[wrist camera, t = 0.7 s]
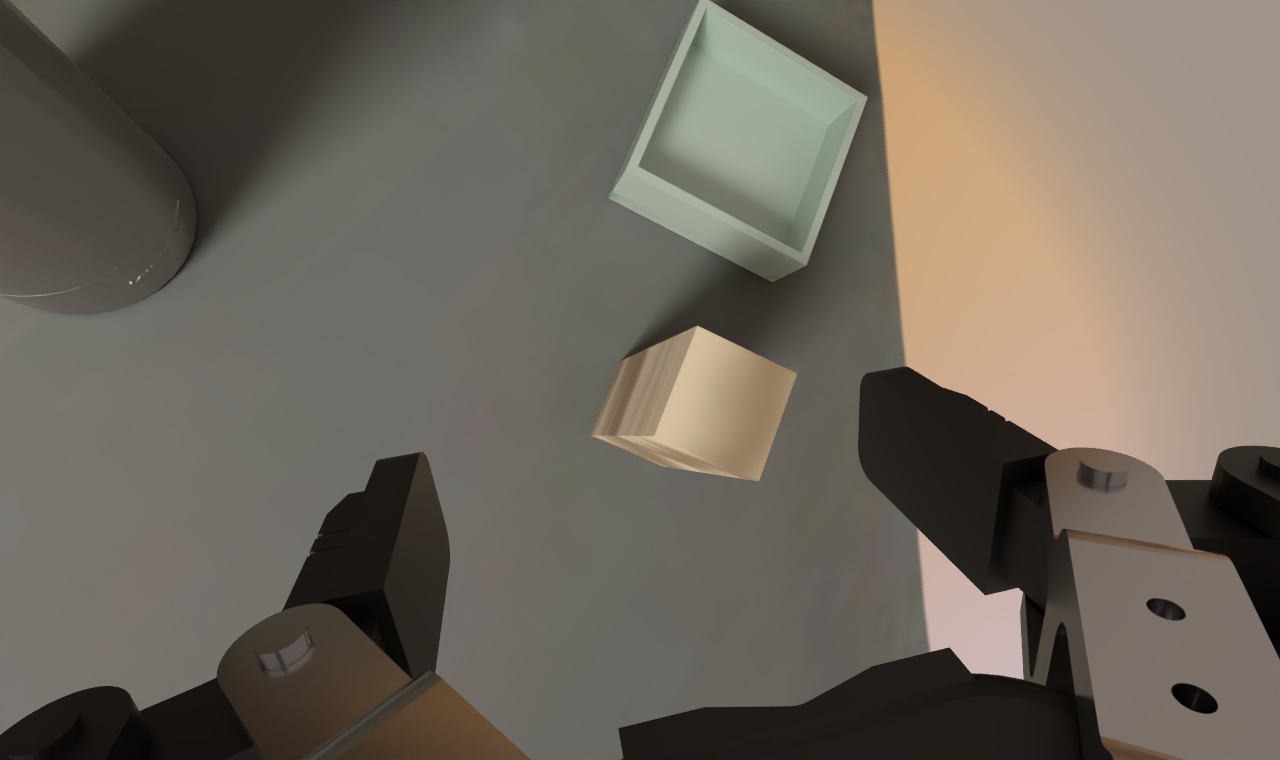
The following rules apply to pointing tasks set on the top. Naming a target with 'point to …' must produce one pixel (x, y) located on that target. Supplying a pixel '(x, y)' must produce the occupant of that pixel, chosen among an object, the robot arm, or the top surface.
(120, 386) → the top surface
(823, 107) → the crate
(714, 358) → the birch block
